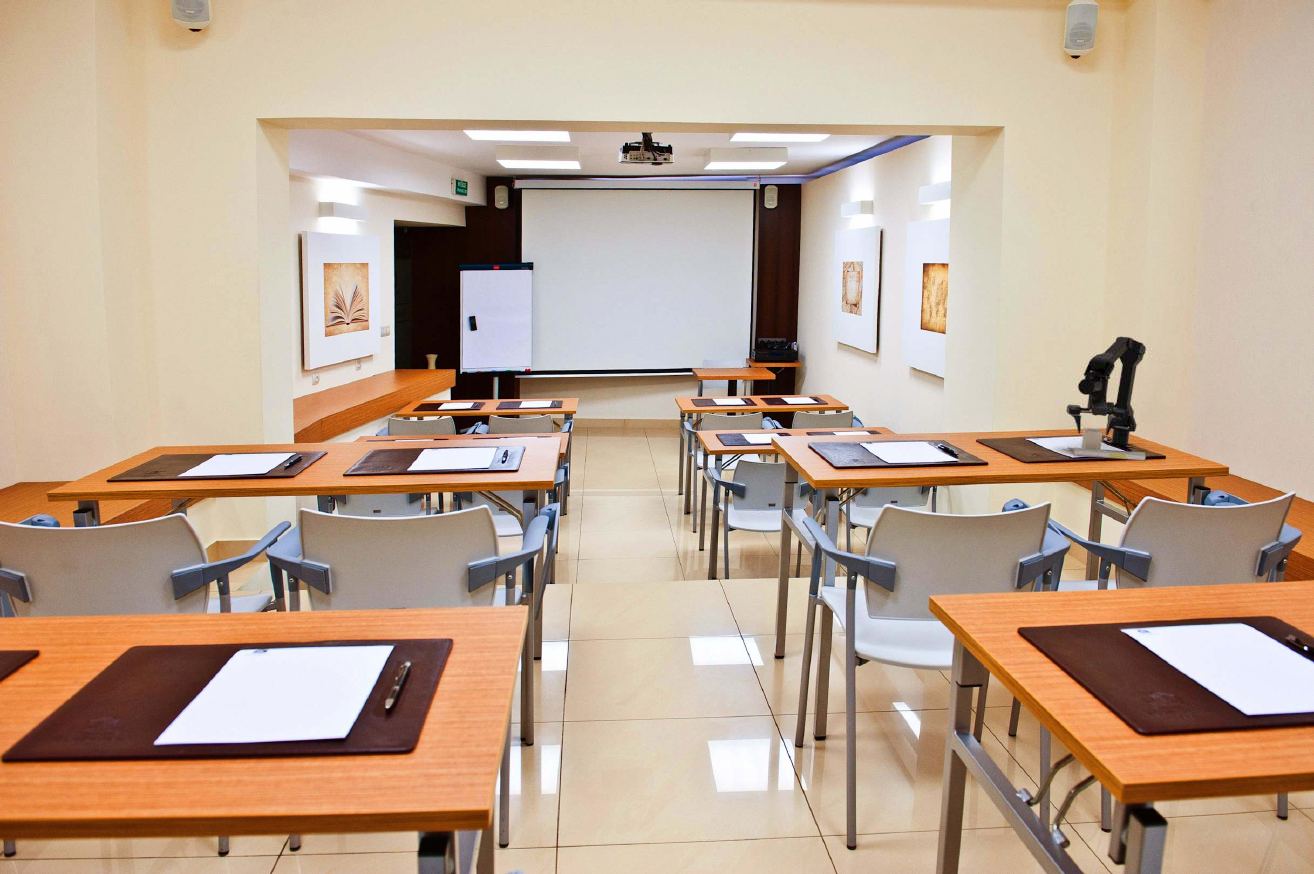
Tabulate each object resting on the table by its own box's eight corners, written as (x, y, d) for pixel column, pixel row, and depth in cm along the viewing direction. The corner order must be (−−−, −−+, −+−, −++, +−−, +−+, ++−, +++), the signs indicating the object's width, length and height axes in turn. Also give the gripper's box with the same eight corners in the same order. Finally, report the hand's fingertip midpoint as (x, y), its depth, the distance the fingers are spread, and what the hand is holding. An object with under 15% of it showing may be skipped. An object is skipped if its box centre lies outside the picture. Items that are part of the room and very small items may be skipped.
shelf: (1067, 449, 339) (1068, 441, 338) (1135, 454, 333) (1136, 446, 332) (1074, 457, 326) (1075, 448, 325) (1144, 462, 320) (1145, 454, 320)
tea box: (1084, 452, 330) (1087, 431, 329) (1081, 448, 337) (1083, 427, 335) (1100, 453, 329) (1103, 432, 327) (1096, 449, 336) (1099, 428, 334)
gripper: (1074, 394, 323) (1068, 436, 326) (1131, 397, 318) (1125, 440, 322) (1068, 389, 334) (1063, 430, 337) (1124, 392, 329) (1118, 434, 332)
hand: (1092, 434), depth 332 cm, fingers open, 9 cm apart
